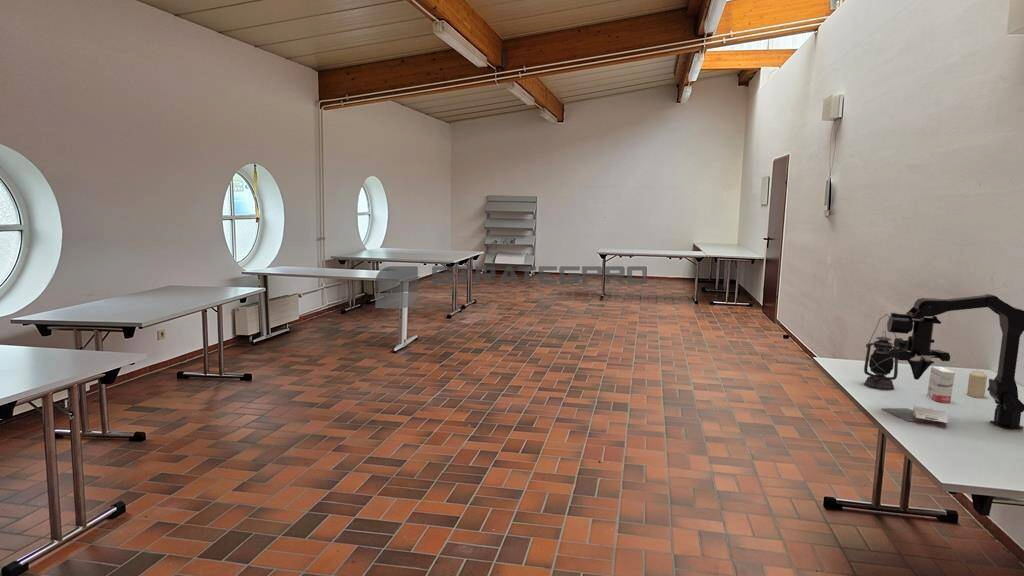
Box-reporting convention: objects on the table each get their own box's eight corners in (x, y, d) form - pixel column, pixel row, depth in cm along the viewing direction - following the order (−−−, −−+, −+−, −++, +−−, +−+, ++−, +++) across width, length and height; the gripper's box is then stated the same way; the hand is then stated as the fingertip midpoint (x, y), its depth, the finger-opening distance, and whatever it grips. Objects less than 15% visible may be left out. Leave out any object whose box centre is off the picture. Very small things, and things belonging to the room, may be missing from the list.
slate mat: (935, 421, 210) (935, 420, 210) (908, 421, 209) (908, 420, 209) (907, 409, 223) (907, 408, 223) (881, 409, 222) (881, 408, 222)
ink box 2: (944, 417, 213) (947, 430, 203) (912, 412, 217) (914, 425, 208) (946, 409, 212) (949, 422, 202) (913, 404, 217) (915, 417, 207)
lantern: (857, 385, 253) (864, 312, 249) (867, 381, 260) (874, 310, 256) (891, 392, 244) (899, 317, 240) (900, 388, 251) (908, 314, 247)
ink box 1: (951, 403, 232) (955, 372, 230) (936, 402, 233) (940, 371, 231) (940, 396, 240) (944, 366, 239) (926, 395, 241) (929, 365, 240)
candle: (968, 396, 241) (971, 371, 240) (965, 393, 246) (968, 368, 245) (985, 399, 239) (988, 373, 237) (982, 395, 244) (985, 370, 242)
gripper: (929, 330, 221) (923, 373, 223) (880, 329, 220) (875, 372, 222) (954, 337, 210) (948, 382, 212) (903, 336, 209) (897, 381, 211)
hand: (916, 379), depth 215 cm, fingers closed
